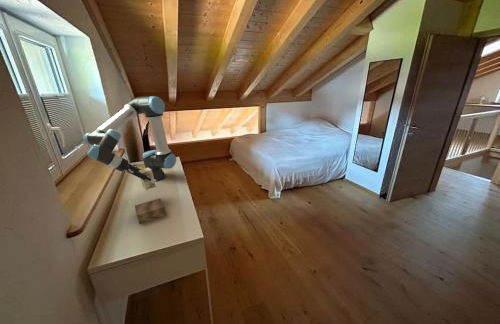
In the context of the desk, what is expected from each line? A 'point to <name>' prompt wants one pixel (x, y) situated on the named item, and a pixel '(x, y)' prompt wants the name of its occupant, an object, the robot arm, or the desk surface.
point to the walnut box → (149, 210)
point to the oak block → (146, 183)
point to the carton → (141, 166)
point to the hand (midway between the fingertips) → (153, 179)
